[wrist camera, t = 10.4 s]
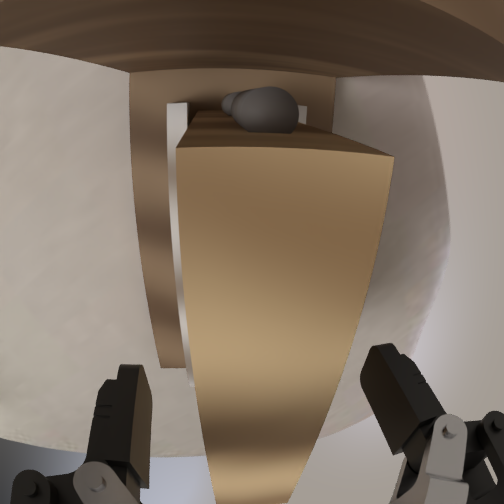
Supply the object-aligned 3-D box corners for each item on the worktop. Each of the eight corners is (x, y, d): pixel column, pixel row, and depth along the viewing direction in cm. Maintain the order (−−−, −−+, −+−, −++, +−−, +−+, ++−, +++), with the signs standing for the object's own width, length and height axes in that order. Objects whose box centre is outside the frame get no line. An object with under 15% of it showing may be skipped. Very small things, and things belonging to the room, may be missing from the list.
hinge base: (134, 50, 15) (-54, -35, 1) (331, 56, 17) (568, 39, 3) (161, 359, 26) (155, 537, 12) (296, 352, 28) (351, 516, 14)
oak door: (198, 93, 16) (175, 79, 4) (288, 96, 17) (465, 117, 5) (204, 333, 24) (217, 510, 12) (270, 329, 25) (317, 497, 12)
